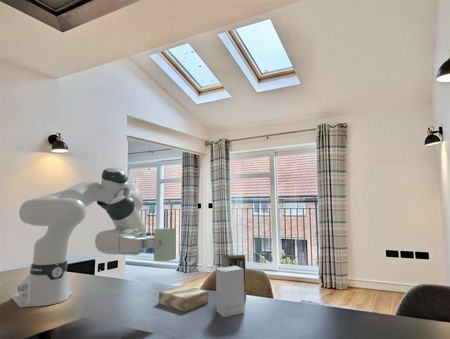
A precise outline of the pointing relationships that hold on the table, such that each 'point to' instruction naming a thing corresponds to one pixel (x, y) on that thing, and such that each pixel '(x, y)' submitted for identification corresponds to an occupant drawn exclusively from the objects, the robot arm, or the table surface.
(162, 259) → the sage block
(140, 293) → the table surface
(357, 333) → the table surface
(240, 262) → the coffee box
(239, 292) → the skincare box
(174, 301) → the oak box
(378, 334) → the table surface
